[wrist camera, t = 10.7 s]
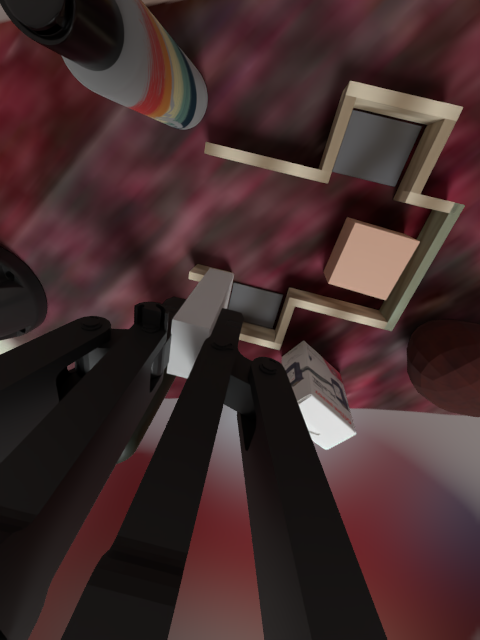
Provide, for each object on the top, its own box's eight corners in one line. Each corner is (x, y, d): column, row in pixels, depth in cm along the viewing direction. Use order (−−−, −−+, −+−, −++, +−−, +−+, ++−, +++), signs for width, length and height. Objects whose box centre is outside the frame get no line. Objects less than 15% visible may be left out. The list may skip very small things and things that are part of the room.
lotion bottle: (164, 134, 31) (3, 78, 13) (151, 68, 28) (-71, -111, 10) (212, 126, 30) (109, 53, 12) (203, 57, 27) (55, -163, 9)
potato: (429, 390, 41) (470, 450, 32) (372, 338, 39) (399, 388, 30) (506, 347, 36) (580, 404, 27) (448, 284, 34) (508, 324, 25)
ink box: (341, 372, 42) (360, 436, 32) (316, 388, 44) (326, 453, 34) (304, 338, 40) (311, 394, 30) (279, 357, 42) (278, 415, 32)
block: (323, 271, 35) (328, 283, 31) (346, 216, 32) (355, 222, 28) (374, 286, 35) (385, 300, 31) (403, 233, 32) (420, 241, 28)
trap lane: (190, 313, 41) (182, 324, 38) (225, 63, 27) (217, 49, 24) (361, 358, 40) (367, 373, 37) (488, 126, 26) (514, 119, 23)
